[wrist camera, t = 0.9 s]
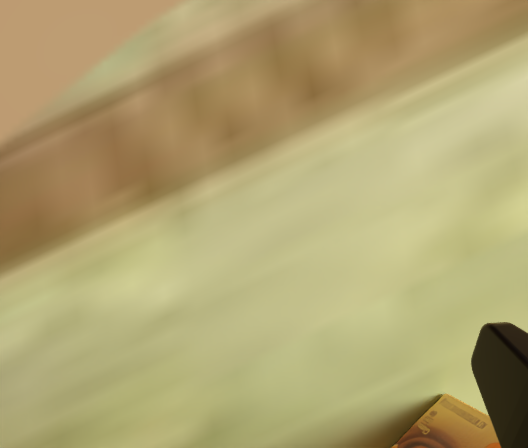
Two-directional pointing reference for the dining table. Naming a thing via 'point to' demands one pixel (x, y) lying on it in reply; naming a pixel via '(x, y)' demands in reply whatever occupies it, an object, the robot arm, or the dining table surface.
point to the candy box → (450, 427)
